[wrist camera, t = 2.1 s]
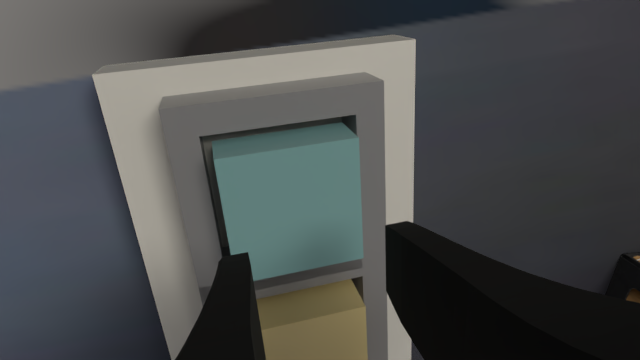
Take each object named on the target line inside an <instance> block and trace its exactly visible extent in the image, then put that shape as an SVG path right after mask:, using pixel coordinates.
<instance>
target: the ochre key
mask: <svg viewBox="0 0 640 360" xmlns="http://www.w3.org/2000/svg"><path fill="white" fill-rule="evenodd" d="M256 300H257V306H258V312H259V319H260V325H261V331H262V337H263V343H264V349H265V355H266V360H368V354H367V328H366V306H365V304H364V302H363V300H362V299H361V297H360V295H359V293H358V291H357V289H356V287H355V285H354V283H353V282H352V280H351V279H347V280H343V281H338V282H334V283H329V284H324V285H320V286H315V287H311V288H306V289H301V290H297V291H292V292H287V293H283V294H278V295H274V296H269V297H264V298H260V299H256Z"/></svg>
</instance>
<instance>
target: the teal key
mask: <svg viewBox="0 0 640 360" xmlns="http://www.w3.org/2000/svg"><path fill="white" fill-rule="evenodd" d="M212 149H213V160H214V166H215V171H216V177H217V182H218V187H219V193H220V198H221V204H222V209H223V215H224V220H225V226H226V231H227V237H228V242H229V248H230V253H231V255H235V254H240V253H245V252H248V254H249V259H250V264H251V269H252V276H253V281H256V280H261V279H266V278H271V277H276V276H280V275H285V274H290V273H295V272H300V271H304V270H309V269H314V268H319V267H324V266H328V265H333V264H338V263H343V262H348V261H352V260H357V259H362V258H364V256H363V230H362V204H361V179H360V153H359V137H358V136H357V135H356V134H354V133H353V132H352V131H351V130H350V129H349V128H348V127H347V126H346V125H344V124H343V123H342V122H341V123H334V124H327V125H320V126H313V127H306V128H299V129H292V130H285V131H278V132H271V133H264V134H257V135H250V136H243V137H236V138H229V139H223V140H216V141H212Z"/></svg>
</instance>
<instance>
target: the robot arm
mask: <svg viewBox="0 0 640 360" xmlns="http://www.w3.org/2000/svg"><path fill="white" fill-rule="evenodd" d="M385 253H386V291H387V294H388V296H389V298H390V300H391V303H392V305H393V307H394V309H395V311H396V313H397V315H398V318H399V320H400V322H401V324H402V325H403V327H404V329H405V330H406V332H407V333H408V335H409V336H410V338H411V340H412V341H413V343H414V344H415V346H416V347H417V349H418V351H419V352H420V354H421V355H422V357H423V358H424V360H640V303H638V302H633V301H628V300H623V299H619V298H614V297H610V296H606V295H602V294H598V293H594V292H590V291H586V290H582V289H578V288H575V287H571V286H568V285H564V284H561V283H558V282H554V281H551V280H548V279H545V278H542V277H539V276H536V275H533V274H530V273H527V272H524V271H521V270H519V269H516V268H513V267H511V266H508V265H506V264H503V263H501V262H498V261H496V260H493V259H491V258H489V257H486V256H484V255H482V254H479V253H477V252H475V251H473V250H470V249H468V248H466V247H464V246H462V245H459V244H457V243H455V242H453V241H451V240H449V239H447V238H445V237H443V236H440V235H438V234H436V233H434V232H432V231H430V230H428V229H426V228H423V227H421V226H419V225H417V224H414V223H412V222H409V221H404V222H399V223H394V224H389V225H385ZM175 360H266V355H265V349H264V343H263V337H262V331H261V325H260V319H259V312H258V306H257V300H256V294H255V288H254V282H253V276H252V269H251V264H250V259H249V254H248V252H245V253H240V254H235V255H230V256H225V257H222V258H221V260H220V261H219V262H218V267H217V271H216V275H215V278H214V281H213V283H212V286H211V289H210V292H209V294H208V296H207V299H206V301H205V303H204V306H203V308H202V310H201V312H200V315H199V317H198V319H197V321H196V323H195V324H194V326H193V328H192V330H191V332H190V334H189V336H188V338H187V340H186V342H185V344H184V345H183V347H182V349H181V350H180V352H179V354H178V356H177V357H176V359H175Z"/></svg>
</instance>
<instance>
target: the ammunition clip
mask: <svg viewBox="0 0 640 360" xmlns="http://www.w3.org/2000/svg"><path fill="white" fill-rule="evenodd" d="M606 296H610V297H614V298H619V299H623V300H628V301H633V302H638V303H640V253H629V254H624V255H621V256H620V258H619V261H618V264H617V266H616V269H615V271H614V274H613V277H612V279H611V282H610V284H609V287H608V290H607V292H606Z"/></svg>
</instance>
